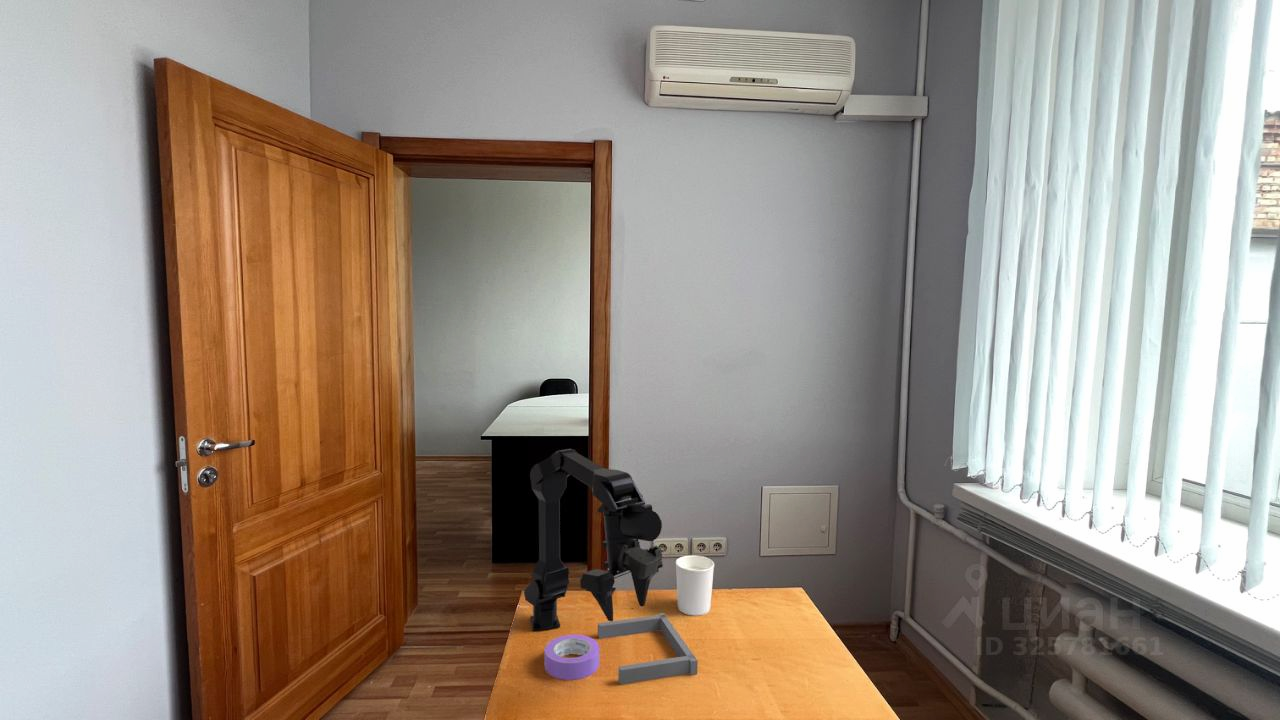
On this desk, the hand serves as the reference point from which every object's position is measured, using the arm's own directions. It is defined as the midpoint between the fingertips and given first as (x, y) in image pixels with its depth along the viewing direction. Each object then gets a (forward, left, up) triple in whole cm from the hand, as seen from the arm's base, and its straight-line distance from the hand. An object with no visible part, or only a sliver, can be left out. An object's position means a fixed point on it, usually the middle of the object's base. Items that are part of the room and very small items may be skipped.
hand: (626, 613), depth 125 cm
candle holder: (-26, +26, -15) cm, 39 cm away
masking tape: (-9, -9, -15) cm, 20 cm away
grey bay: (-9, +7, -14) cm, 18 cm away
